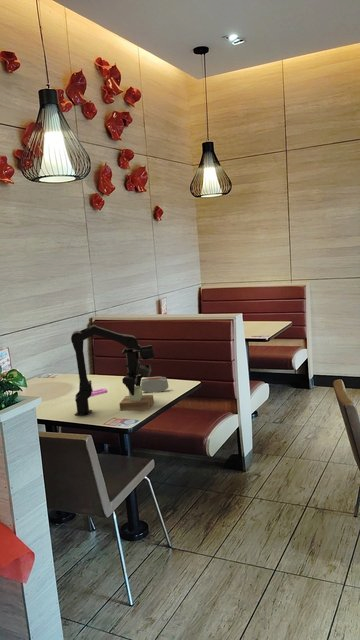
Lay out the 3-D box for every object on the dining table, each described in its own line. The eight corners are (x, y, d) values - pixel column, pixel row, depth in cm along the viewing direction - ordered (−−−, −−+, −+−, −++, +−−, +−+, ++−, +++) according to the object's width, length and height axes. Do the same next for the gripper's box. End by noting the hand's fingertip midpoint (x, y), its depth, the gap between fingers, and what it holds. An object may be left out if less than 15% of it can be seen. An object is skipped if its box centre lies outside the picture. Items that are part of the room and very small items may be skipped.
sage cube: (139, 400, 247) (138, 388, 246) (129, 401, 248) (128, 389, 247) (142, 397, 252) (141, 385, 251) (132, 397, 253) (131, 386, 252)
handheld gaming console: (168, 390, 273) (167, 375, 272) (168, 391, 270) (167, 377, 269) (141, 392, 274) (140, 377, 273) (141, 393, 271) (139, 379, 270)
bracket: (86, 397, 273) (84, 385, 272) (82, 395, 277) (81, 383, 276) (108, 392, 279) (107, 380, 278) (104, 390, 284) (103, 378, 283)
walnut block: (148, 410, 244) (147, 402, 243) (120, 411, 246) (119, 403, 246) (153, 402, 255) (153, 394, 255) (126, 403, 258) (125, 395, 257)
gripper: (143, 365, 237) (146, 398, 239) (153, 356, 255) (156, 386, 257) (120, 366, 239) (123, 398, 241) (132, 357, 257) (135, 387, 259)
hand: (135, 392), depth 250 cm, fingers open, 9 cm apart
